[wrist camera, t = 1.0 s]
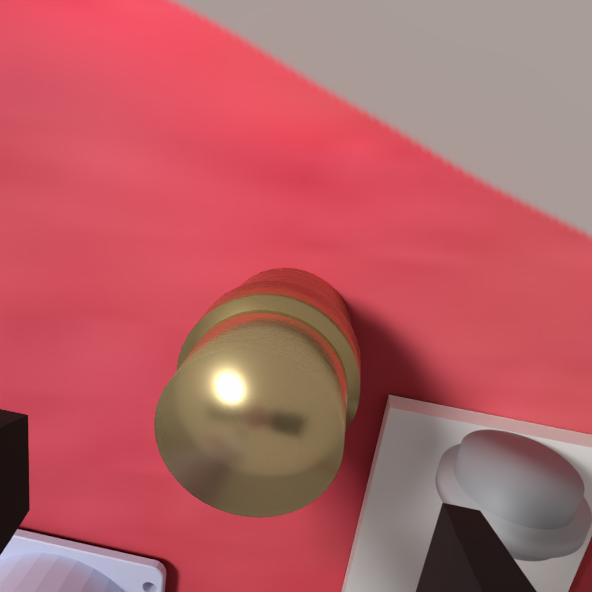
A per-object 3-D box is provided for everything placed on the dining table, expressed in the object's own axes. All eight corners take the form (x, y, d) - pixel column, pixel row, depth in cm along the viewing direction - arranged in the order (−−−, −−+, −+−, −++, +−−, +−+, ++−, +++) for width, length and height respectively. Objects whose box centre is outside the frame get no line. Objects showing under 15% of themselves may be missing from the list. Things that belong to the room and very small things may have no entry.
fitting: (528, 648, 20) (571, 791, 16) (338, 605, 20) (330, 733, 16) (615, 439, 17) (696, 546, 13) (388, 394, 17) (395, 483, 13)
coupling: (346, 408, 18) (337, 548, 12) (208, 380, 18) (135, 503, 12) (375, 273, 16) (379, 360, 10) (223, 245, 16) (147, 315, 11)
